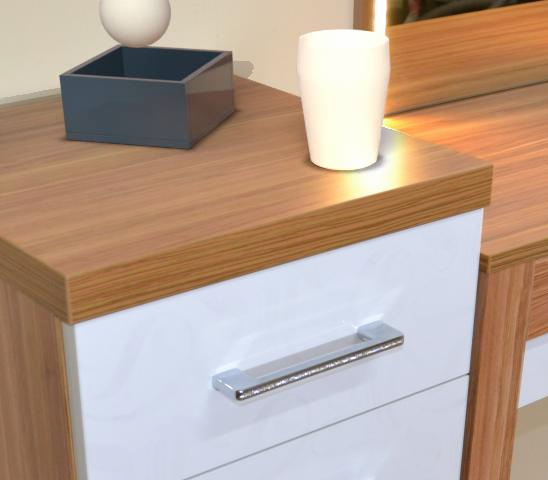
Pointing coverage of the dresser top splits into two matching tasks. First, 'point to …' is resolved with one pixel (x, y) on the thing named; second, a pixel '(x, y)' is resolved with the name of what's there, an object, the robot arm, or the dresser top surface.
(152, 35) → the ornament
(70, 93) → the dark blue open box
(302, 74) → the cup
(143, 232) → the dresser top surface
